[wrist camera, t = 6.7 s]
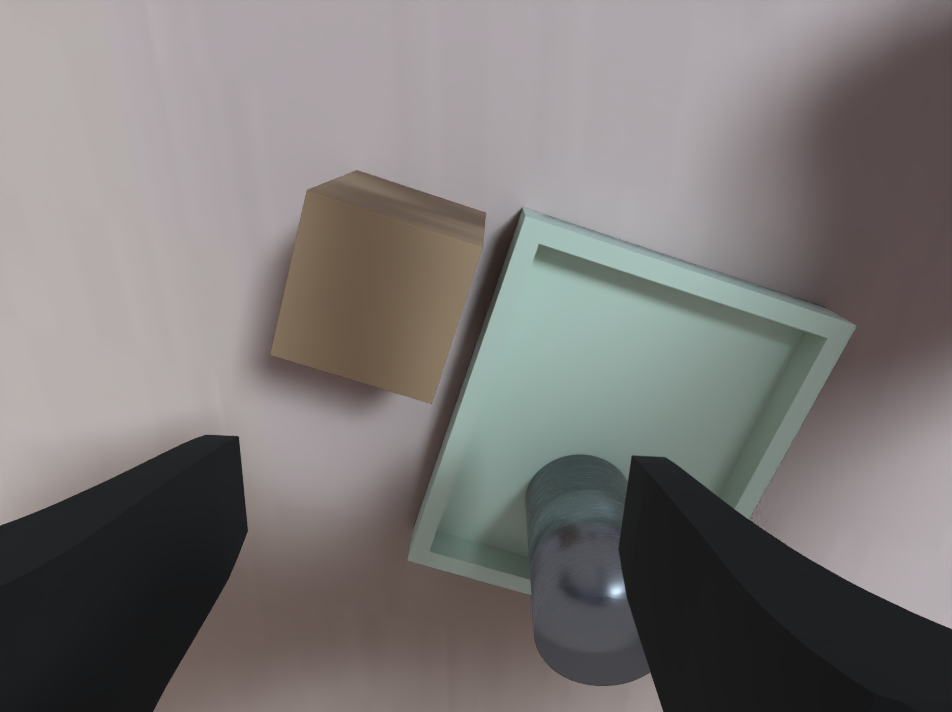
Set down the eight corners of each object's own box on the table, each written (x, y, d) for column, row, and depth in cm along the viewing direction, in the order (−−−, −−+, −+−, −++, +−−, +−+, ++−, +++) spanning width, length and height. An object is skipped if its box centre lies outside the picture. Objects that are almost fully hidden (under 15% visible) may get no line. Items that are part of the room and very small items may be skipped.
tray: (826, 308, 20) (856, 325, 18) (669, 601, 24) (682, 637, 22) (522, 207, 19) (525, 215, 18) (413, 528, 23) (406, 560, 22)
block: (485, 212, 19) (482, 246, 14) (447, 332, 21) (431, 403, 16) (357, 170, 19) (306, 190, 14) (326, 294, 20) (270, 355, 15)
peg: (638, 457, 21) (687, 578, 16) (624, 548, 23) (665, 690, 17) (529, 451, 21) (539, 569, 16) (521, 541, 23) (528, 681, 17)
